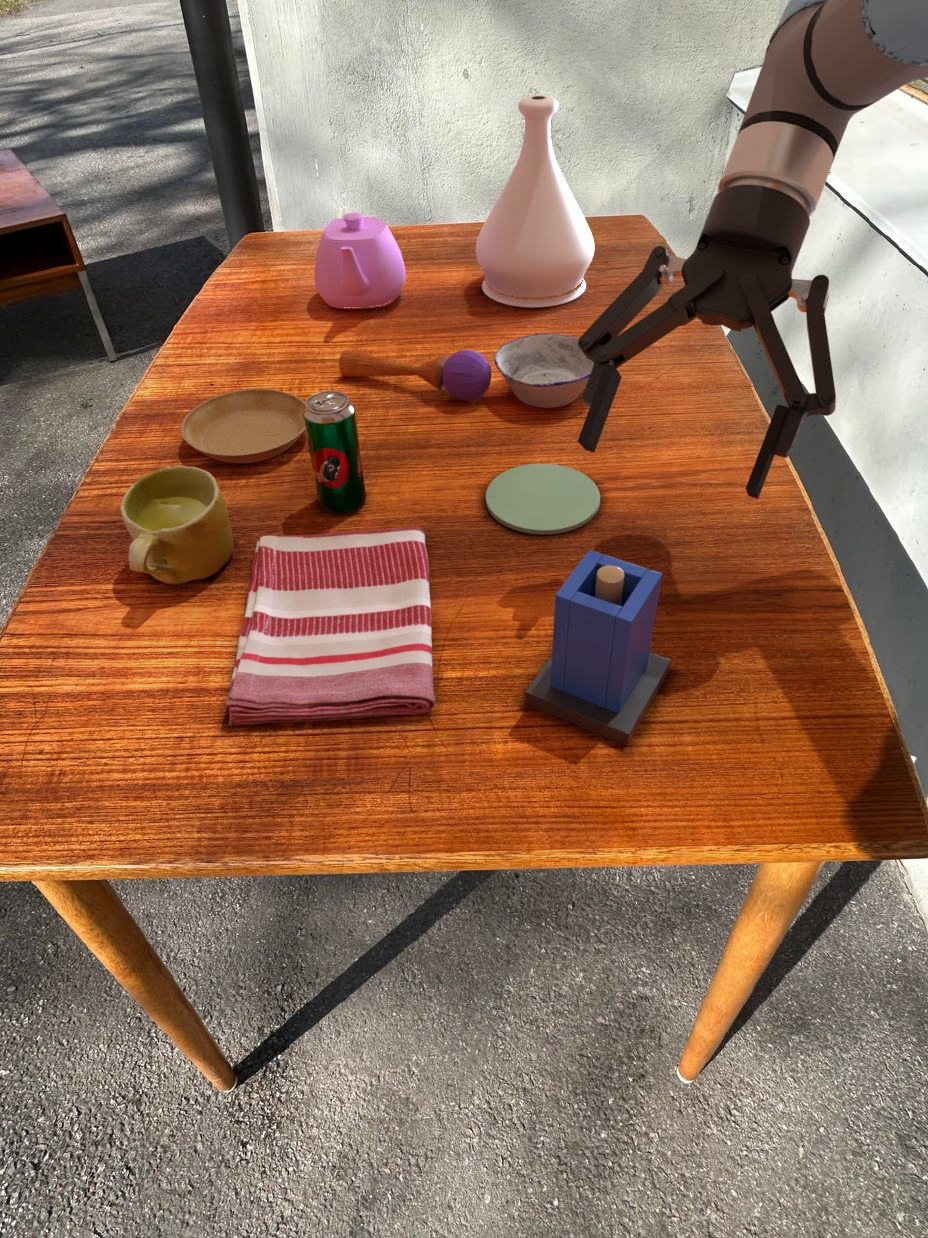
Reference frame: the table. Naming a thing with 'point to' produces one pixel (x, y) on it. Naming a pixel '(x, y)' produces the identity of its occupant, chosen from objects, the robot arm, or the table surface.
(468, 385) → the purple maraca
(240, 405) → the plant saucer
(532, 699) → the dowel stand
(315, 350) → the table surface
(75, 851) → the table surface
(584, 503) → the coaster
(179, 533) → the mug
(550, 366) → the bowl
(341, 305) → the teapot
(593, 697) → the sleeve
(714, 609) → the table surface
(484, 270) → the vase
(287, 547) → the dish towel
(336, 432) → the soda can
